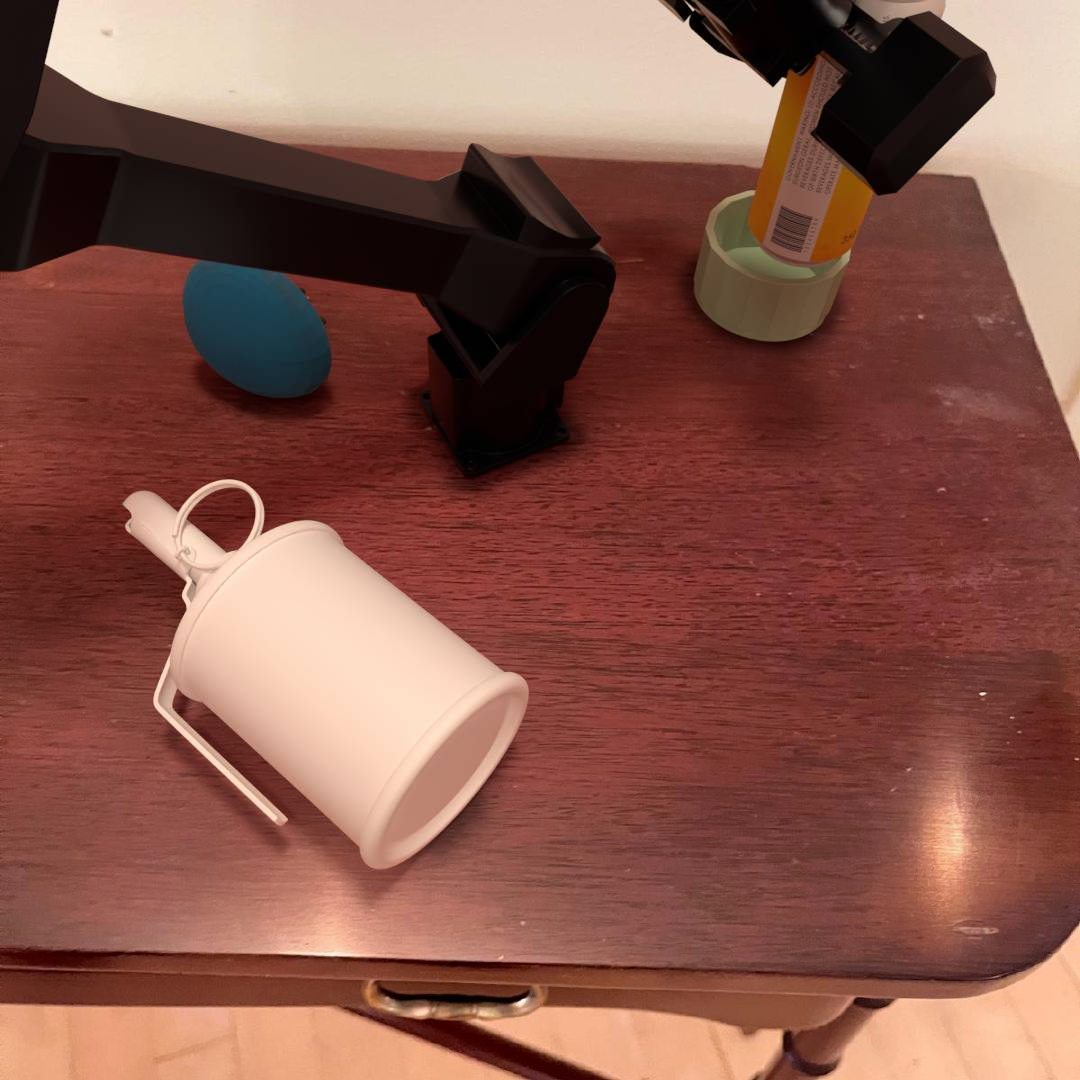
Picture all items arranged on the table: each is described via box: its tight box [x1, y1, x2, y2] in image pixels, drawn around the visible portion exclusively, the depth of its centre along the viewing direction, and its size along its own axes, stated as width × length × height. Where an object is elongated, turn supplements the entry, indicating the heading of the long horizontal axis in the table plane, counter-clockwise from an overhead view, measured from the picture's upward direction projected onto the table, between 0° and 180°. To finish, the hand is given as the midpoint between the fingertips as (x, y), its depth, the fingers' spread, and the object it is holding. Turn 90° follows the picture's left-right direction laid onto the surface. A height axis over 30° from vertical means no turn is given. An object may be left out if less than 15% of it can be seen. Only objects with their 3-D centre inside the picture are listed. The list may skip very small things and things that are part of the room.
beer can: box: [748, 0, 947, 268], centre depth 51 cm, size 6×6×15 cm
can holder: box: [693, 189, 852, 342], centre depth 62 cm, size 9×9×4 cm
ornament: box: [181, 260, 333, 399], centre depth 53 cm, size 8×5×10 cm, turn 70°
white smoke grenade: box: [122, 479, 530, 870], centre depth 43 cm, size 10×9×20 cm
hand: (858, 111), depth 52 cm, fingers closed on beer can, 6 cm apart
